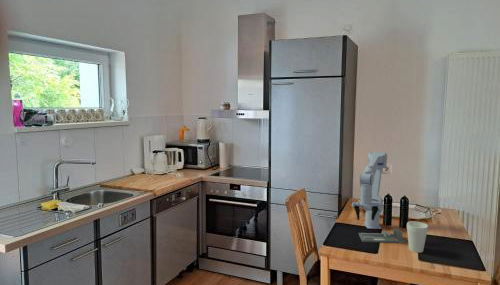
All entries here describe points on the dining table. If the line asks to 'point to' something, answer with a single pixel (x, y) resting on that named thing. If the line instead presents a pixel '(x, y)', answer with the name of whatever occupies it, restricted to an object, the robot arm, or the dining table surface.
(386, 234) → the gauge follower
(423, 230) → the foam cup
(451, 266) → the dining table surface
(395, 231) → the gauge base
